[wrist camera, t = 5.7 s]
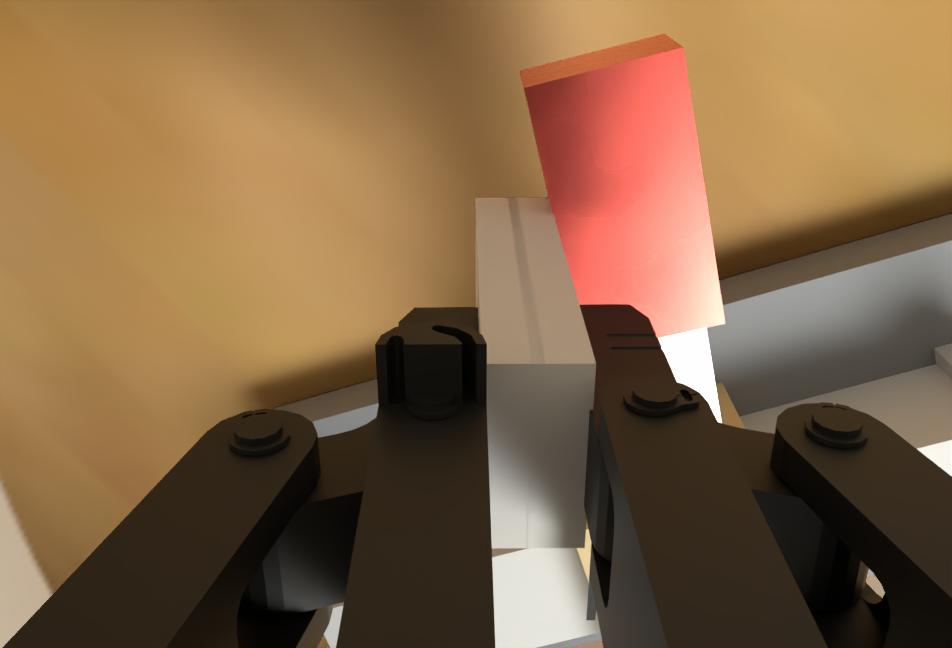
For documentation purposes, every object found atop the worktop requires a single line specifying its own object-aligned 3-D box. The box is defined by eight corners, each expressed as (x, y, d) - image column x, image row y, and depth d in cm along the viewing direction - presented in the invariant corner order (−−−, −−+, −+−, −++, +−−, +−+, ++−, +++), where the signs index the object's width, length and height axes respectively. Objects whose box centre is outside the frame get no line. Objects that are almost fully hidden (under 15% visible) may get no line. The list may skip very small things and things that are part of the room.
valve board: (392, 656, 30) (374, 823, 25) (274, 408, 26) (221, 542, 21) (1009, 504, 28) (1141, 654, 22) (981, 204, 24) (1134, 297, 18)
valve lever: (652, 654, 22) (664, 707, 21) (519, 70, 16) (524, 87, 15) (760, 633, 22) (780, 686, 20) (664, 33, 16) (683, 46, 15)
